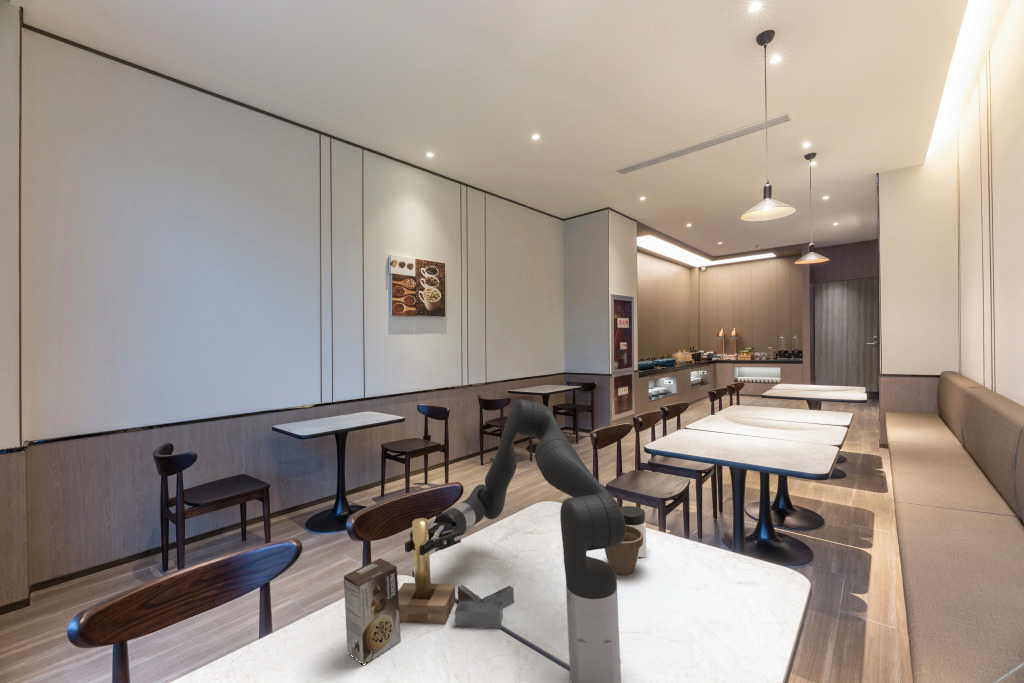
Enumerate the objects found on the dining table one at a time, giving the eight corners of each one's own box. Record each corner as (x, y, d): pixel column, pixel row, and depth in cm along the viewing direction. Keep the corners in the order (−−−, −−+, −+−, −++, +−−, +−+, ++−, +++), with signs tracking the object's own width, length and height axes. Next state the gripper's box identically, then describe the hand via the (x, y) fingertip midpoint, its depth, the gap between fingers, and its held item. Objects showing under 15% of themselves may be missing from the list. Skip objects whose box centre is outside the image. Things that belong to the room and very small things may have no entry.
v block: (508, 628, 96) (508, 612, 96) (447, 626, 98) (446, 610, 98) (514, 600, 107) (513, 585, 107) (459, 598, 109) (458, 584, 109)
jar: (619, 543, 134) (617, 504, 135) (647, 547, 132) (645, 506, 132) (615, 557, 126) (614, 515, 126) (645, 561, 123) (643, 518, 123)
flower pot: (654, 574, 116) (652, 536, 116) (617, 584, 112) (615, 545, 112) (627, 555, 127) (625, 520, 127) (593, 564, 123) (591, 528, 123)
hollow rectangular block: (445, 623, 99) (445, 605, 99) (390, 621, 101) (389, 604, 101) (455, 600, 108) (455, 584, 108) (404, 599, 110) (403, 582, 110)
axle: (428, 593, 102) (425, 524, 102) (413, 593, 102) (410, 524, 103) (432, 585, 106) (429, 518, 106) (418, 585, 106) (415, 518, 106)
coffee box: (383, 630, 98) (380, 557, 98) (401, 641, 94) (398, 565, 94) (345, 653, 91) (342, 574, 91) (363, 667, 87) (360, 584, 87)
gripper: (433, 504, 120) (388, 528, 105) (477, 510, 114) (437, 537, 98) (434, 532, 120) (390, 560, 105) (479, 540, 114) (439, 571, 98)
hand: (413, 549), depth 102 cm, fingers closed on axle, 3 cm apart
